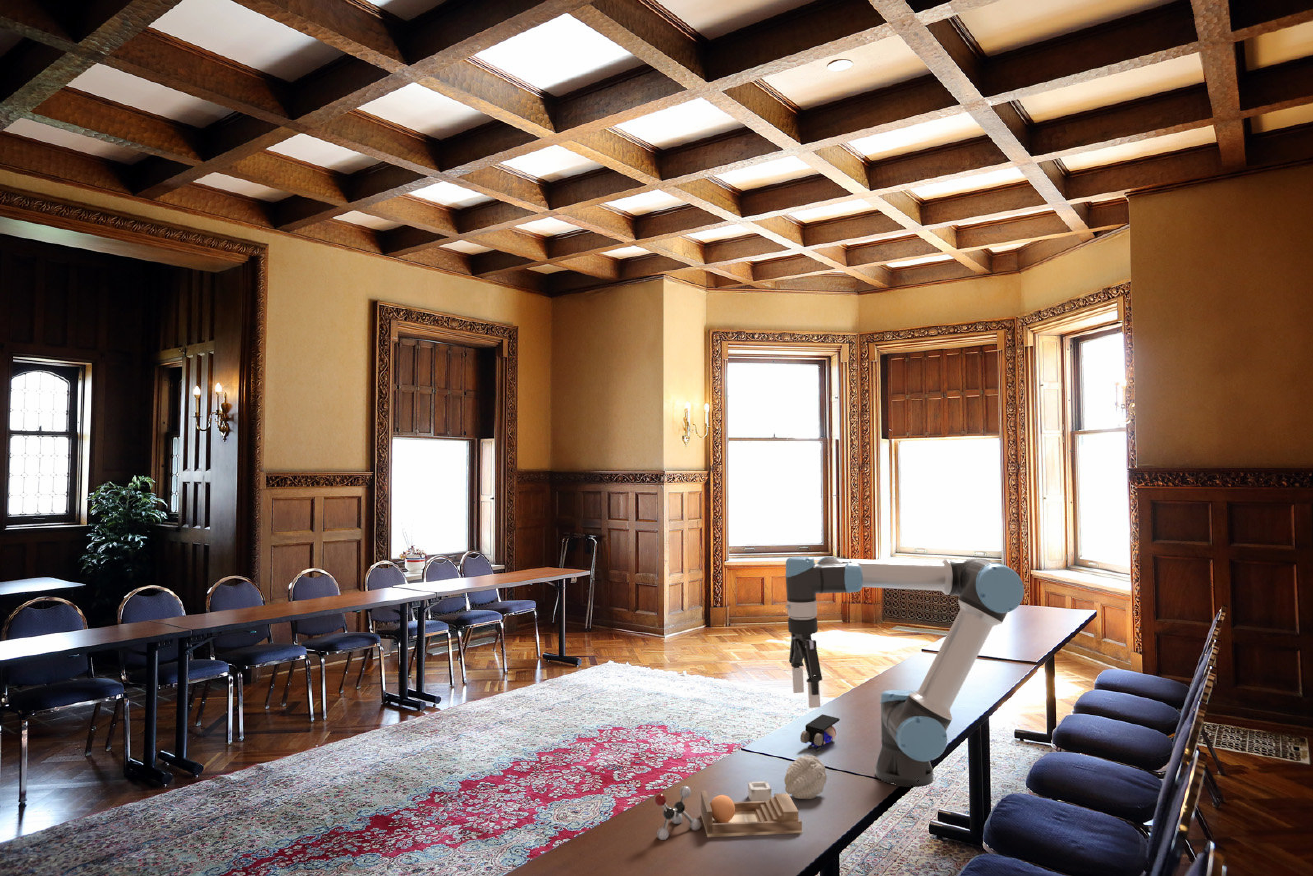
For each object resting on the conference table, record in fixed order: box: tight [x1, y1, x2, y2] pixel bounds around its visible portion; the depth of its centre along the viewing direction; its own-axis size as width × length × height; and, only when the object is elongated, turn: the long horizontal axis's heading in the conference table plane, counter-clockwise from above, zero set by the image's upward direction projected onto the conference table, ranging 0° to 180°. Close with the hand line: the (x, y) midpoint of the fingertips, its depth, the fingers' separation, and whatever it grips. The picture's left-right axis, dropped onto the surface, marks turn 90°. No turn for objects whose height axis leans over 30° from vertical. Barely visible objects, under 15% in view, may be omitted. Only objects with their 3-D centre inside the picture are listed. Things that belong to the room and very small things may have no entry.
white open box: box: [747, 781, 772, 802], centre depth 204 cm, size 5×5×4 cm
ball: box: [710, 794, 735, 823], centre depth 189 cm, size 6×6×6 cm
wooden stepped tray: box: [700, 790, 803, 838], centre depth 190 cm, size 22×12×6 cm, turn 94°
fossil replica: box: [783, 754, 828, 800], centre depth 206 cm, size 12×8×10 cm
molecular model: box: [654, 785, 702, 841], centre depth 186 cm, size 8×12×11 cm
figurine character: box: [799, 714, 840, 752], centre depth 244 cm, size 7×8×15 cm
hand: (806, 699), depth 206 cm, fingers open, 13 cm apart
